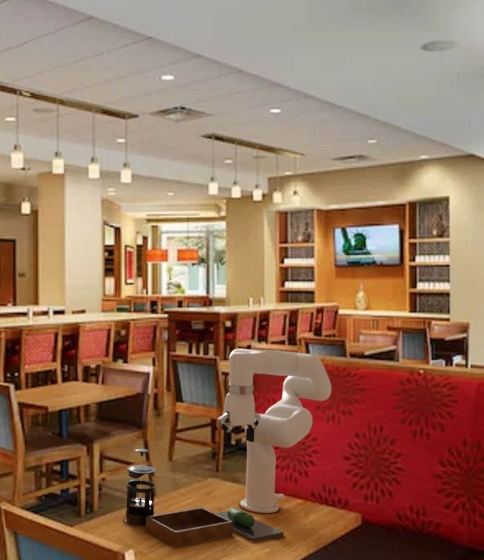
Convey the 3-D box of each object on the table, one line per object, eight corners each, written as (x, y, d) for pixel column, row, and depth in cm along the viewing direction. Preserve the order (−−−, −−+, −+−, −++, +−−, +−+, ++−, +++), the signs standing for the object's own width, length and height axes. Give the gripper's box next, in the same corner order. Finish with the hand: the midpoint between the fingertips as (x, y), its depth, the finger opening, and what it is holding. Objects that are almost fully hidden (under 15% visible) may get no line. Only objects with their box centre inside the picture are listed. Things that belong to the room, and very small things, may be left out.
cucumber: (236, 513, 232) (231, 503, 231) (259, 523, 223) (254, 513, 222) (227, 521, 230) (222, 511, 229) (250, 532, 221) (245, 522, 220)
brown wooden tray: (201, 521, 232) (202, 507, 232) (232, 536, 219) (233, 521, 219) (145, 531, 221) (146, 516, 221) (174, 548, 208) (175, 532, 208)
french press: (161, 526, 226) (163, 452, 225) (134, 529, 222) (137, 454, 222) (143, 514, 237) (145, 443, 236) (117, 517, 233) (119, 445, 232)
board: (234, 514, 239) (234, 509, 239) (283, 537, 220) (283, 532, 220) (205, 519, 233) (205, 514, 233) (253, 543, 214) (253, 538, 214)
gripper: (252, 386, 244) (250, 437, 244) (212, 389, 235) (210, 442, 236) (268, 390, 237) (266, 442, 238) (227, 393, 229) (225, 447, 229)
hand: (238, 442), depth 237 cm, fingers open, 9 cm apart
